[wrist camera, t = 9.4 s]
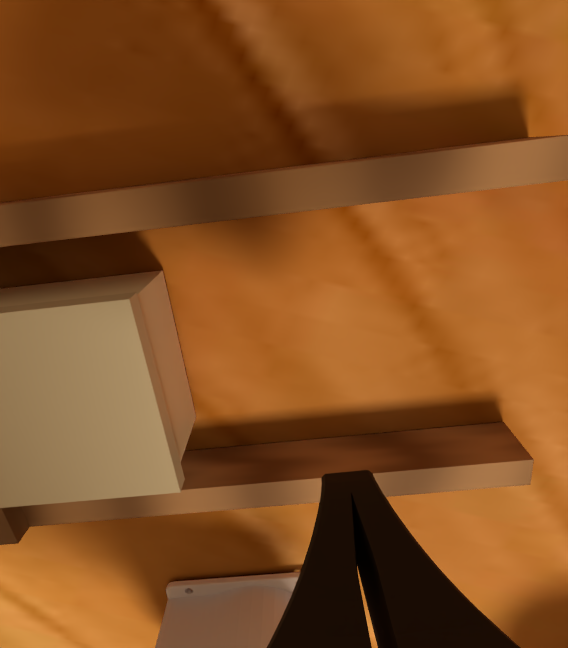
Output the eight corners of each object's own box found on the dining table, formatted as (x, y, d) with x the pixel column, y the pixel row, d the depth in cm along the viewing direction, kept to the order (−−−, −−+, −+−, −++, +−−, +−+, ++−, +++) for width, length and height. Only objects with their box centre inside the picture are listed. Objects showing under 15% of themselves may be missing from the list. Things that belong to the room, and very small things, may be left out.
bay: (33, 486, 25) (-12, 545, 21) (-84, 212, 19) (-175, 227, 15) (501, 444, 23) (541, 500, 20) (529, 137, 18) (594, 133, 14)
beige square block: (46, 436, 23) (-16, 509, 18) (-14, 283, 20) (-108, 325, 15) (202, 421, 23) (180, 492, 18) (167, 263, 19) (129, 299, 15)
